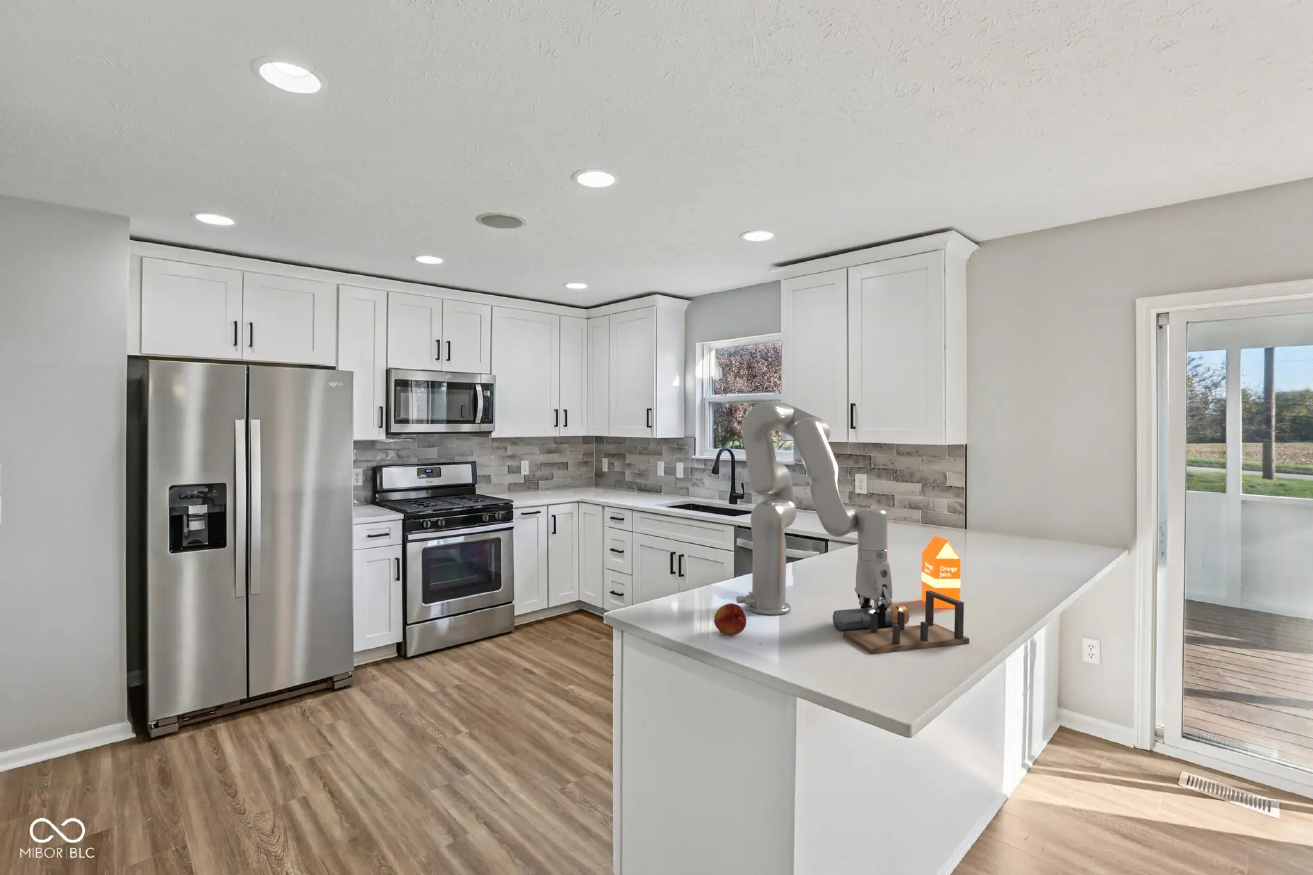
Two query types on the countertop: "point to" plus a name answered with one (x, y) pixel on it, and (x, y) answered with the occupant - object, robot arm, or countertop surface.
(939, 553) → the orange juice
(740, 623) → the fruit
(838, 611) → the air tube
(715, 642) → the countertop surface
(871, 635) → the board
